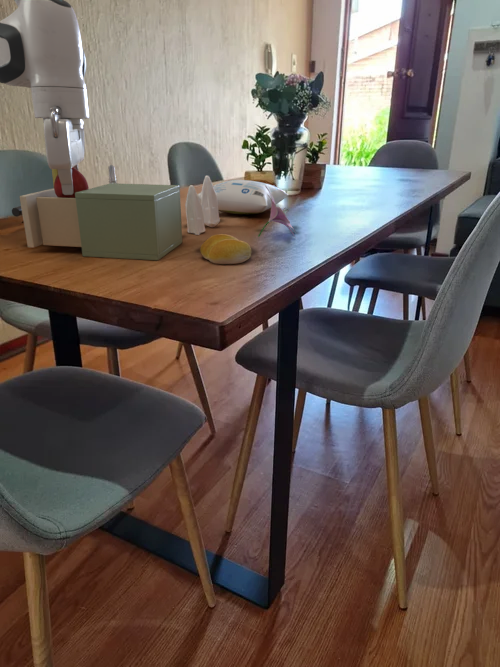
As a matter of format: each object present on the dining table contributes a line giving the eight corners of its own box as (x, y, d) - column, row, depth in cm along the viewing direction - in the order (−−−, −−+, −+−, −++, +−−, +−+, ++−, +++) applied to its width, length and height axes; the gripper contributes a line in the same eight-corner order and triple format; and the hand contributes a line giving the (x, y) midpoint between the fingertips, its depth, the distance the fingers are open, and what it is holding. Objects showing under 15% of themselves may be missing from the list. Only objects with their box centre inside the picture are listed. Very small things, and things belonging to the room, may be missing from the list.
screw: (131, 223, 116) (122, 227, 112) (111, 222, 117) (102, 226, 113) (126, 163, 111) (116, 165, 107) (105, 163, 112) (95, 165, 108)
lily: (280, 251, 97) (306, 205, 95) (231, 221, 100) (254, 177, 98) (295, 256, 108) (318, 216, 106) (250, 230, 111) (271, 190, 109)
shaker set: (208, 223, 117) (207, 173, 112) (224, 225, 115) (224, 174, 111) (181, 233, 106) (178, 178, 102) (198, 235, 105) (196, 179, 101)
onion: (64, 212, 89) (57, 163, 85) (52, 207, 93) (45, 161, 90) (95, 208, 92) (90, 162, 89) (83, 205, 96) (77, 160, 93)
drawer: (5, 246, 91) (-4, 195, 88) (44, 232, 102) (37, 186, 99) (93, 250, 88) (87, 198, 85) (123, 235, 100) (118, 189, 96)
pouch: (266, 187, 116) (288, 175, 134) (190, 186, 122) (220, 175, 139) (267, 222, 120) (288, 206, 137) (193, 219, 125) (222, 204, 143)
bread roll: (219, 268, 82) (218, 243, 80) (194, 256, 89) (193, 233, 87) (261, 261, 86) (262, 237, 85) (235, 250, 93) (234, 228, 92)
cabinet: (82, 256, 88) (74, 192, 84) (115, 239, 101) (110, 183, 97) (158, 260, 86) (153, 195, 82) (182, 242, 99) (179, 185, 94)
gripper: (73, 106, 77) (83, 199, 82) (86, 108, 96) (94, 184, 101) (29, 105, 76) (42, 200, 81) (51, 108, 94) (61, 185, 100)
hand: (71, 191), depth 91 cm, fingers closed on onion, 6 cm apart
